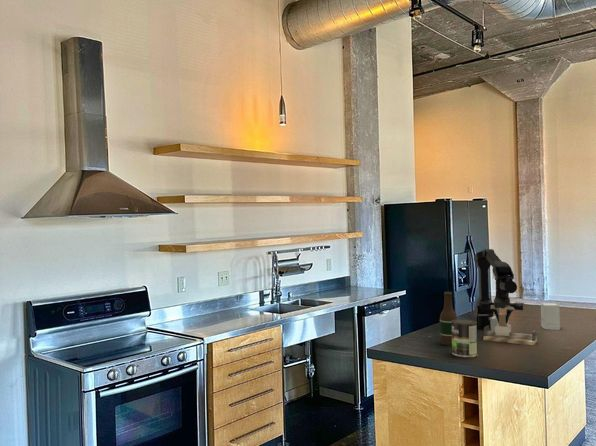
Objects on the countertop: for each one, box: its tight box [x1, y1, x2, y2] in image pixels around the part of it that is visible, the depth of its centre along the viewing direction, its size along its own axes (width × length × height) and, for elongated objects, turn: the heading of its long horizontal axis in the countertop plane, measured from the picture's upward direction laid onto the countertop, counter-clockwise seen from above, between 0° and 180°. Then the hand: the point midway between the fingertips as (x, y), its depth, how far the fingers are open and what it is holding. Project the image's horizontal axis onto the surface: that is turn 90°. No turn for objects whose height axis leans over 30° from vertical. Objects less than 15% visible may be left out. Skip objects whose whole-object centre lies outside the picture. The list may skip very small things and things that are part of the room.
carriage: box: [495, 313, 512, 336], centre depth 241 cm, size 6×6×9 cm
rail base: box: [482, 326, 538, 346], centre depth 239 cm, size 22×10×6 cm, turn 57°
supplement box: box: [540, 302, 561, 331], centre depth 264 cm, size 7×7×13 cm
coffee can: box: [451, 318, 478, 358], centre depth 216 cm, size 10×10×14 cm
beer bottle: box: [439, 291, 458, 347], centre depth 235 cm, size 8×8×24 cm
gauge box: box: [490, 315, 509, 331], centre depth 253 cm, size 7×7×8 cm
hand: (502, 323), depth 241 cm, fingers closed on carriage, 3 cm apart
